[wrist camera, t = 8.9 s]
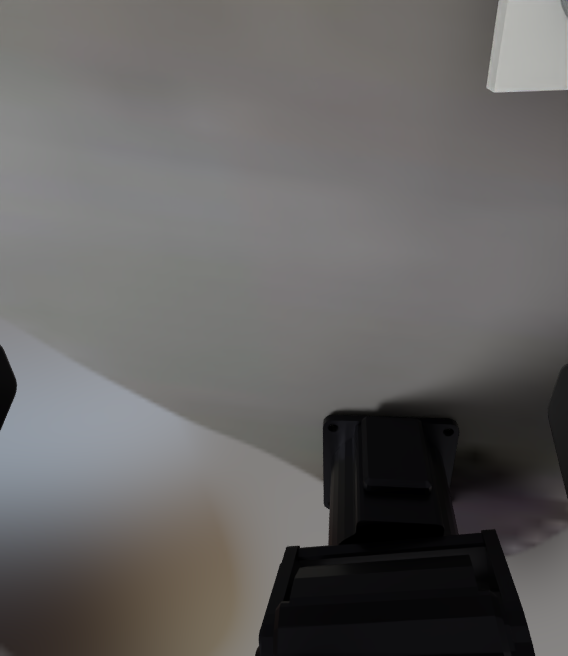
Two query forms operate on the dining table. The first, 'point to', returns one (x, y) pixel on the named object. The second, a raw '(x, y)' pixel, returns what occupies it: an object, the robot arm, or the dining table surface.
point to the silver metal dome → (565, 6)
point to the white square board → (529, 47)
